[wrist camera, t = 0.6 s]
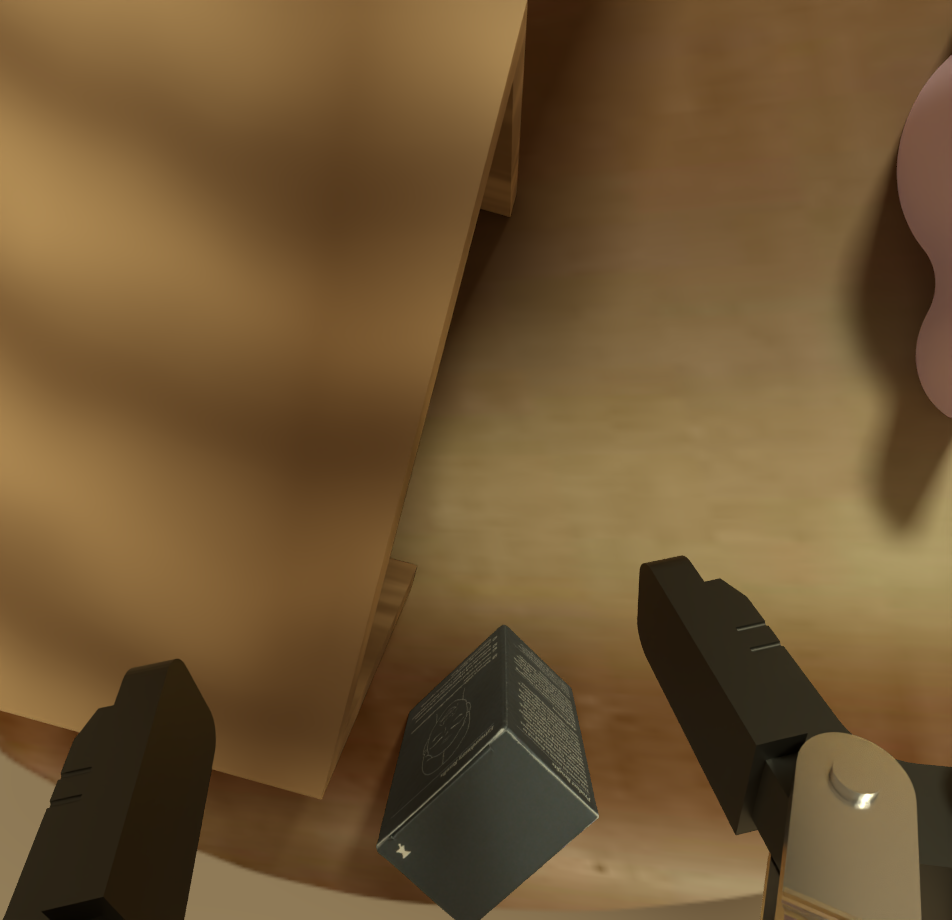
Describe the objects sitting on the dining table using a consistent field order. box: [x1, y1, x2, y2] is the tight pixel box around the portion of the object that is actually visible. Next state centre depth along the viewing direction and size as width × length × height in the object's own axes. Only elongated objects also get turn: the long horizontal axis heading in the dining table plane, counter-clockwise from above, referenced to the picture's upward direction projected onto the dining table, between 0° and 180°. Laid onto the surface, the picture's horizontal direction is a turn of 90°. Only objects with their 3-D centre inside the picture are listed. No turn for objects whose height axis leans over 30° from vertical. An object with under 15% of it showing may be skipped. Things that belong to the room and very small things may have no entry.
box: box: [376, 625, 599, 920], centre depth 31 cm, size 8×6×11 cm
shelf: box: [0, 0, 528, 800], centre depth 25 cm, size 21×14×18 cm
